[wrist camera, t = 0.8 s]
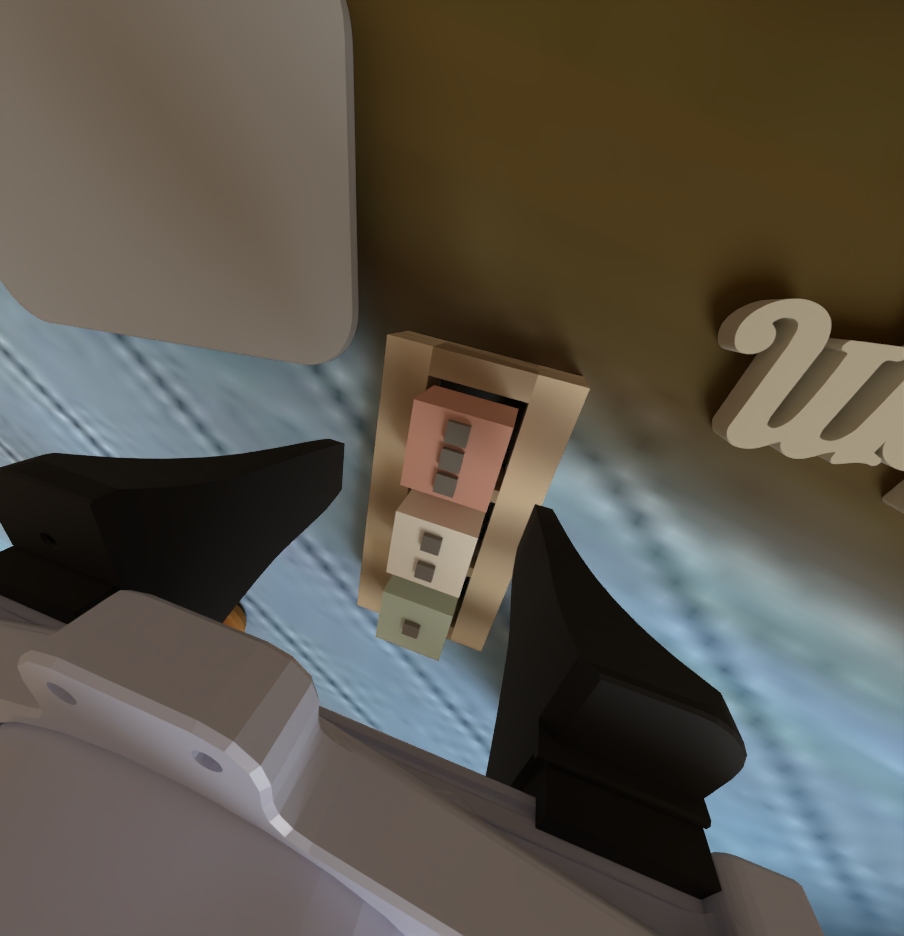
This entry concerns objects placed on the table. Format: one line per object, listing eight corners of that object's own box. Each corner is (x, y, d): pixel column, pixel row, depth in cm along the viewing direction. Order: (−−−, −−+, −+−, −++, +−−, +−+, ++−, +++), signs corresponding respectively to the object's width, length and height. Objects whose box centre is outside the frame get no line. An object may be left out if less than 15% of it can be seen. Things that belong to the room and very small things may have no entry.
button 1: (450, 622, 24) (437, 665, 21) (393, 601, 25) (373, 640, 22) (463, 579, 22) (451, 620, 19) (401, 558, 23) (380, 594, 20)
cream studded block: (469, 562, 21) (457, 602, 18) (405, 540, 22) (383, 575, 19) (487, 506, 19) (476, 542, 16) (415, 483, 20) (393, 514, 17)
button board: (487, 618, 27) (481, 651, 25) (374, 577, 28) (357, 604, 26) (583, 376, 18) (590, 388, 15) (408, 330, 19) (387, 334, 16)
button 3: (494, 483, 18) (485, 516, 16) (420, 460, 19) (397, 487, 16) (518, 408, 16) (512, 430, 14) (434, 385, 17) (411, 401, 14)
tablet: (372, 366, 21) (354, 372, 19) (57, 316, 25) (15, 316, 23) (370, -43, 14) (340, -103, 12) (-73, -12, 18) (-150, -52, 16)
